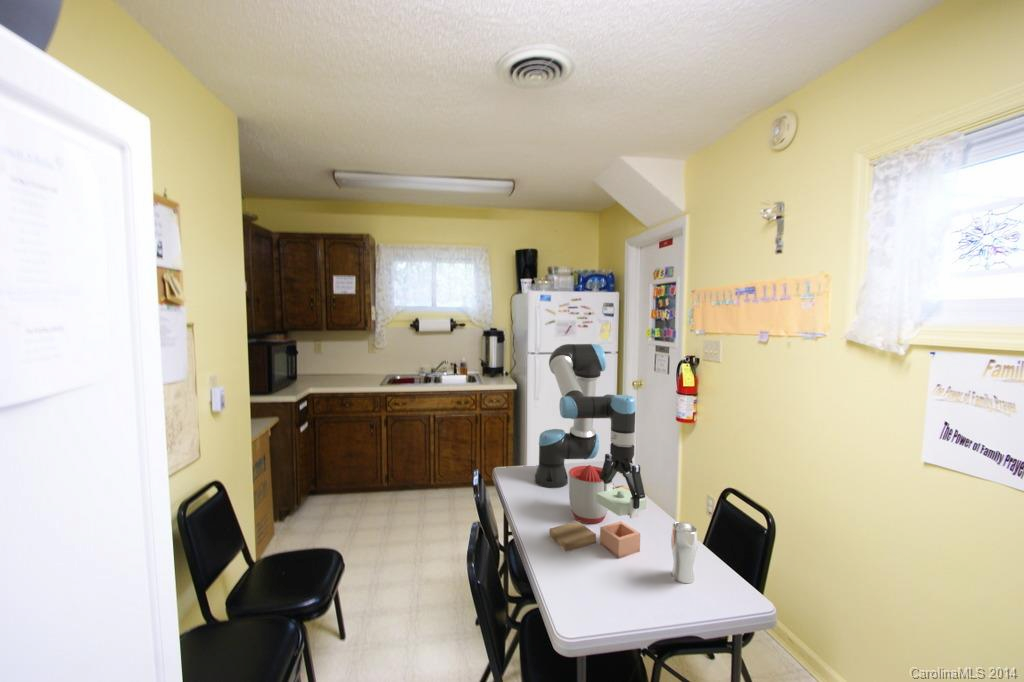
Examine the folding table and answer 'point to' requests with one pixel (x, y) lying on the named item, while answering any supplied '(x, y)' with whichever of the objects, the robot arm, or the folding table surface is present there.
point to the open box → (620, 539)
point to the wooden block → (572, 536)
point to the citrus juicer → (586, 493)
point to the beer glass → (683, 551)
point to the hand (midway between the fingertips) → (620, 509)
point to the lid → (618, 501)
